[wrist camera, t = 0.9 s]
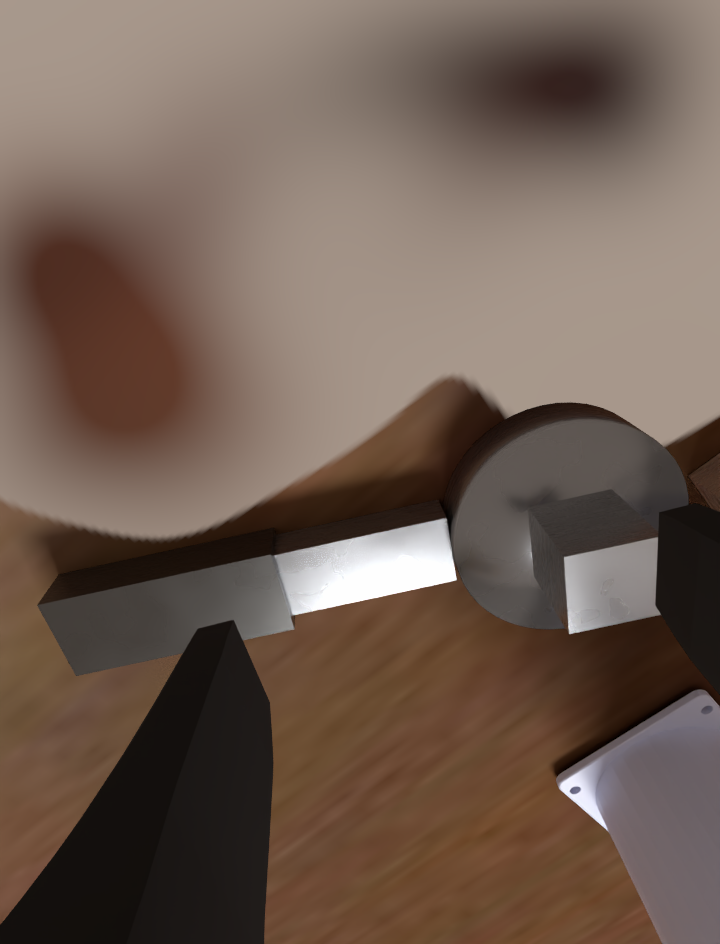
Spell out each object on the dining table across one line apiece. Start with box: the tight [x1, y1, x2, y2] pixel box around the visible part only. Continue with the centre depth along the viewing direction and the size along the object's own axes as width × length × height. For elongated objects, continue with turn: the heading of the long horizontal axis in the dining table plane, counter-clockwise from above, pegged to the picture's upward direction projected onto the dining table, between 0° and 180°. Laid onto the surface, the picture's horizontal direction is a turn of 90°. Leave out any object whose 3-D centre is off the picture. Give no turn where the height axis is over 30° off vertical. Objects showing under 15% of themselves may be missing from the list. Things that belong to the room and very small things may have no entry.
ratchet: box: [37, 403, 689, 676], centre depth 19 cm, size 22×8×5 cm, turn 102°
